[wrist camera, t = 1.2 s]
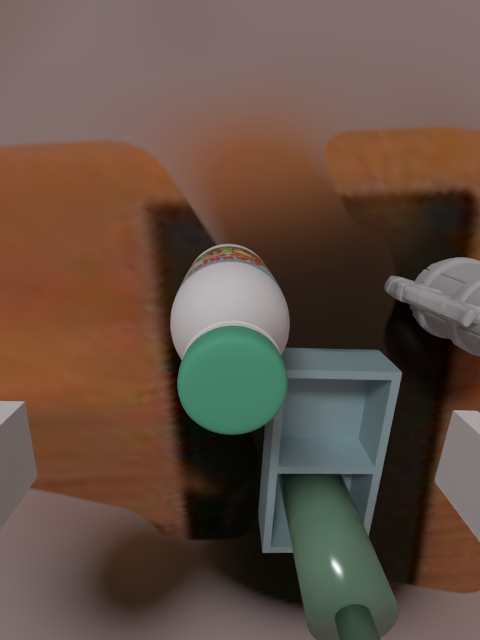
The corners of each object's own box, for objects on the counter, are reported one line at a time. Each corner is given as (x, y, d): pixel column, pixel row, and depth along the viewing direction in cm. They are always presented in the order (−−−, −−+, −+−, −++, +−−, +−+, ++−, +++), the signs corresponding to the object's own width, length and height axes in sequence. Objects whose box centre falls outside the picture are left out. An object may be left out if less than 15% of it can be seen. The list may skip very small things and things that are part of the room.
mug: (463, 338, 36) (574, 400, 24) (355, 313, 34) (419, 366, 23) (497, 265, 34) (637, 296, 22) (382, 236, 32) (469, 253, 21)
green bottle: (277, 503, 41) (319, 746, 22) (282, 453, 39) (333, 676, 20) (336, 504, 41) (425, 742, 23) (344, 454, 39) (449, 673, 21)
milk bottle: (283, 297, 34) (359, 416, 15) (215, 337, 35) (203, 496, 16) (243, 226, 31) (270, 258, 12) (171, 270, 32) (95, 362, 13)
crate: (258, 513, 42) (262, 552, 37) (270, 347, 35) (277, 369, 30) (349, 513, 42) (365, 552, 38) (378, 350, 36) (402, 372, 31)
